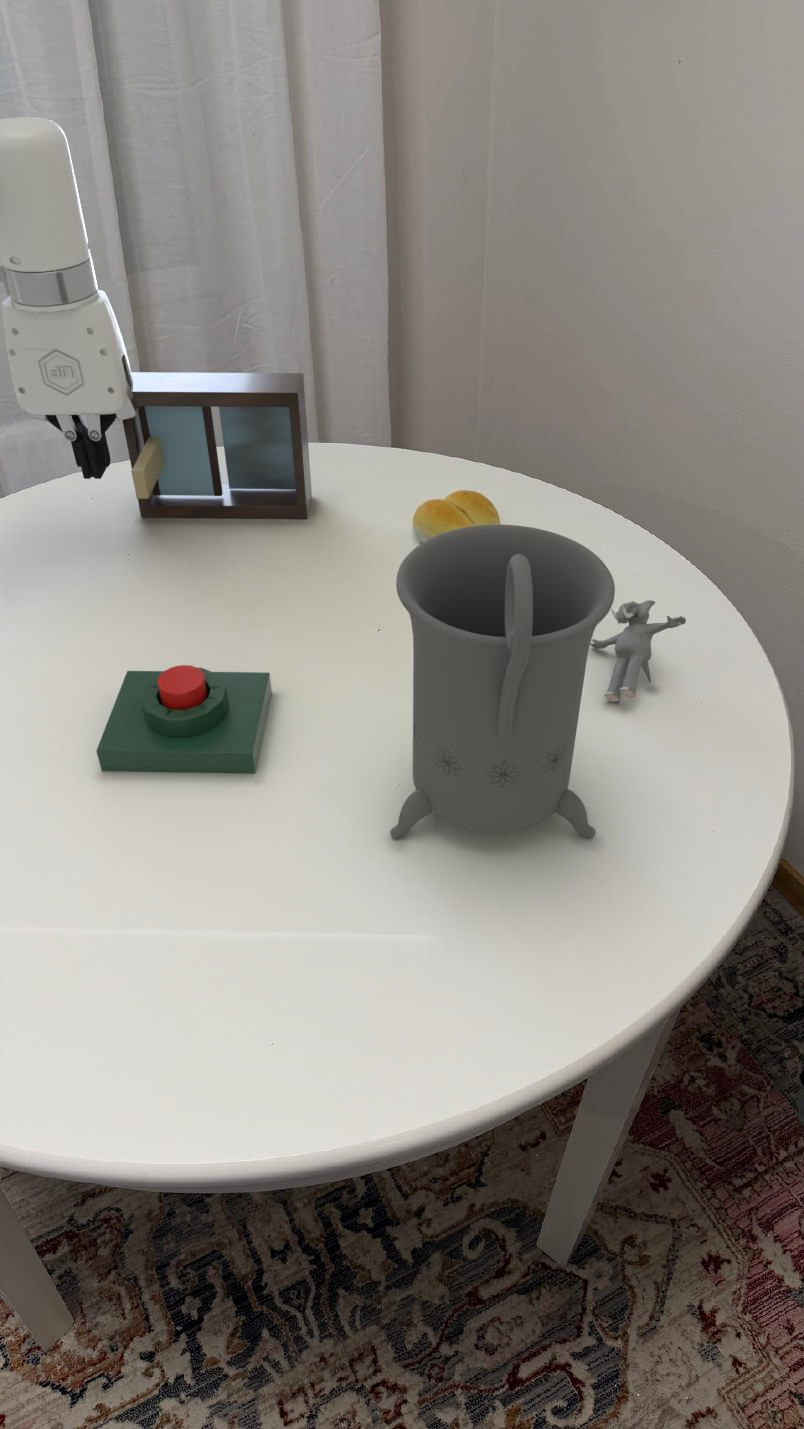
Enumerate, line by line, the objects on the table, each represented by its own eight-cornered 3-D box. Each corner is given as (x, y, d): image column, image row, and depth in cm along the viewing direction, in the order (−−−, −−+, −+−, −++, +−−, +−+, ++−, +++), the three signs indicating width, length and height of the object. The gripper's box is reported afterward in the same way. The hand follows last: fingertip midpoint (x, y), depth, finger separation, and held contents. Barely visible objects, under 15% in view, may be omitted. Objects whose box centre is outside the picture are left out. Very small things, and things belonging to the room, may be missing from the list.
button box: (101, 771, 78) (91, 733, 76) (132, 690, 86) (123, 653, 83) (255, 774, 78) (249, 735, 75) (272, 692, 85) (267, 655, 83)
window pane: (137, 531, 103) (117, 435, 96) (154, 492, 109) (137, 400, 102) (209, 532, 102) (195, 436, 96) (222, 493, 109) (210, 400, 102)
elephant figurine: (552, 690, 86) (577, 606, 90) (596, 726, 88) (619, 643, 92) (646, 665, 78) (669, 574, 82) (691, 705, 81) (711, 615, 85)
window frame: (141, 517, 108) (116, 391, 99) (151, 495, 112) (128, 372, 103) (307, 519, 108) (297, 392, 99) (312, 496, 112) (303, 373, 103)
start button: (156, 710, 78) (152, 693, 77) (166, 681, 81) (162, 664, 80) (202, 711, 78) (199, 693, 77) (210, 682, 81) (207, 665, 80)
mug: (391, 724, 82) (385, 436, 66) (572, 723, 82) (610, 435, 66) (389, 906, 68) (381, 596, 52) (608, 904, 68) (669, 594, 52)
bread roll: (399, 528, 106) (398, 494, 104) (470, 506, 110) (471, 473, 107) (440, 563, 101) (441, 528, 98) (513, 540, 104) (516, 505, 102)
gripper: (-48, 296, 86) (10, 490, 98) (125, 295, 85) (162, 490, 97) (-17, 269, 92) (33, 455, 104) (145, 268, 91) (177, 455, 103)
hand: (96, 472), depth 100 cm, fingers closed
